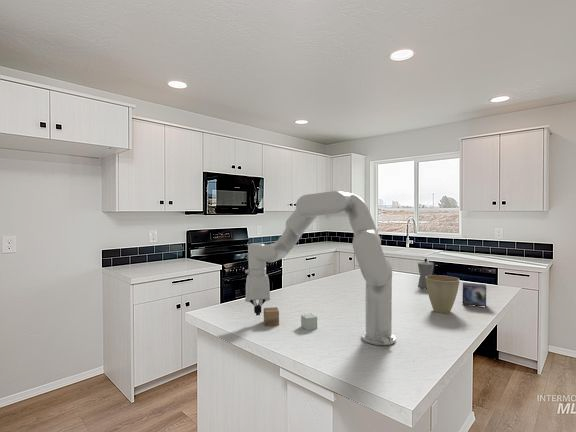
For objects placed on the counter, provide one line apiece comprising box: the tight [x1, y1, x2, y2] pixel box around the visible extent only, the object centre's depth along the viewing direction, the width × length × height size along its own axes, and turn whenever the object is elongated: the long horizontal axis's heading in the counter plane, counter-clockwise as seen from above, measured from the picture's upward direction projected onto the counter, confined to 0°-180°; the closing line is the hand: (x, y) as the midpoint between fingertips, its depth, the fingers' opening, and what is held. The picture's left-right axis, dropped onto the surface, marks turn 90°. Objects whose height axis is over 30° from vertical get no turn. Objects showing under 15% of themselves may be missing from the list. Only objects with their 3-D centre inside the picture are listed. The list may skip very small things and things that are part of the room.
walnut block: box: [263, 306, 280, 327], centre depth 144 cm, size 6×6×6 cm
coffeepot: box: [417, 258, 437, 289], centre depth 209 cm, size 15×9×18 cm, turn 118°
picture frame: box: [462, 282, 487, 308], centre depth 169 cm, size 11×6×10 cm, turn 62°
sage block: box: [300, 313, 318, 331], centre depth 139 cm, size 5×5×5 cm
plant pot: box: [426, 274, 460, 314], centre depth 160 cm, size 15×15×16 cm
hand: (257, 314), depth 143 cm, fingers closed
